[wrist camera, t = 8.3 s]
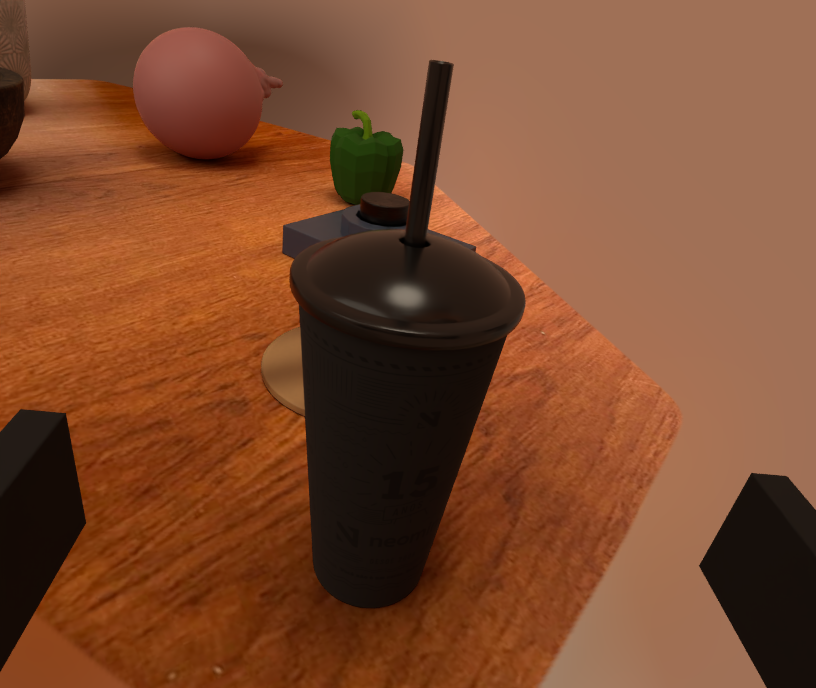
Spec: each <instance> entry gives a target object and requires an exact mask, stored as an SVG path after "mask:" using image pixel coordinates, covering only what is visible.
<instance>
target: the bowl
mask: <svg viewBox="0 0 816 688" xmlns="http://www.w3.org/2000/svg"><path fill="white" fill-rule="evenodd" d="M23 119H24V82H23V78H22V77H21V76H20V75H19V74H18V73H16V72H13V71H11V70H8V69H5V68H2V67H0V159H1V158H2V157H3V156H5V155H6V154H7V153H8V152H9V150H10V149H11V147H12V145H13V144H14V142H15V141H16V139H17V138H18V135H19V131H20V128H21V125H22V122H23Z"/></svg>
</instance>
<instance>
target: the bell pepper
mask: <svg viewBox="0 0 816 688" xmlns="http://www.w3.org/2000/svg"><path fill="white" fill-rule="evenodd" d="M352 115H353V117H354V119H361V121H362V122H363V129H362V128H360V127H355V128H353V129H347V128H337V129H336V130H335V133H334V134H333V136H332V140H331V147H330V164H331V170H332V177H333V181H334V186H335V189H336V191H337V193H338V195H340V196H341V198H342V199H343V200H344V201H345V202H349V203H352V204H355V205H359V204H360V203H361V196H362V195H363V194H366V193H370V192H384V193H392V190H393V188H394V185H395V183H396V180H397V177H398V174H399V171H400V168H401V163H402V156H403V147H402V143H401V140H400V139H398V138H395V137H393V136H392V135H391V134H390V133H388V132H384V131H381V132H377V133H374V134H372V127H371V120H370V118H369V117H368V115H367V114H366V113H365V112H363V111H361V110H360V111H359V110H356V111H353V112H352Z"/></svg>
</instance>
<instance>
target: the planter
mask: <svg viewBox="0 0 816 688" xmlns="http://www.w3.org/2000/svg"><path fill="white" fill-rule="evenodd" d="M0 67H2V68H5V69H8V70H11V71H13V72H16V73H18V74H19V75H20V76H21V77H22V78H23V82H24V101H25V99H26V98H27V96H28V93H29V90H30V86H31V65H30V54H29V43H28V32H27V21H26V11H25V0H0Z"/></svg>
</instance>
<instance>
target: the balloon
mask: <svg viewBox="0 0 816 688" xmlns="http://www.w3.org/2000/svg"><path fill="white" fill-rule="evenodd" d="M282 86H283V82H282V80H280V79H278V78H275V77H271V76H267V75H266V73H265V72H264V71H263V70H262V69H261V68H258V67H257V68H256V67H255V66H254V65H253V64H252V63H251V62H250V61H249V60H248V58H247V57H246V56H245V54H244V53H243V52H242V51H241V50H240V49H239V48H238V47H237V46H236V45H235V44H233V43H232V42H231V41H230V40H228V39H226V38H225V37H223V36H221V35H219V34H217V33H215V32H212V31H209V30H206V29H202V28H194V27H184V28H178V29H173V30H170V31H167V32H165V33H163V34H161V35H159V36H158V37H157V38H155V39H154V40H153V41H152V42H151V43H149V44H148V46H147V47H146V48H145V49H144V51H143V52H142V54H141V56H140V57H139V60H138V62H137V65H136V68H135V72H134V80H133V91H134V98H135V102H136V106H137V109H138V111H139V114H140V116H141V118H142V120H143V121H144V123H145V125H146V126H147V128H148V129H149V130H150V132H151V133H152V134H153V135H154V136H155V137H156V138H157V139H158V140H159V141H160V142H161V143H163V144H164V145H165V146H167V147H168V148H170V149H171V150H173V151H175V152H177V153H179V154H182V155H184V156H187V157H191V158H196V159H216V158H221V157H224V156H227V155H230V154H232V153H234V152H235V151H237V150H239V149H240V148H241V147H242V146H244V145H245V144H246V143H247V142H248V141H249V139H250V138H251V137H252V135H253V134H254V132H255V130H256V128H257V126H258V124H259V121H260V117H261V112H262V102H263V99H264V98H268V97H269V96H270V95H271V88H281V87H282Z"/></svg>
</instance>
